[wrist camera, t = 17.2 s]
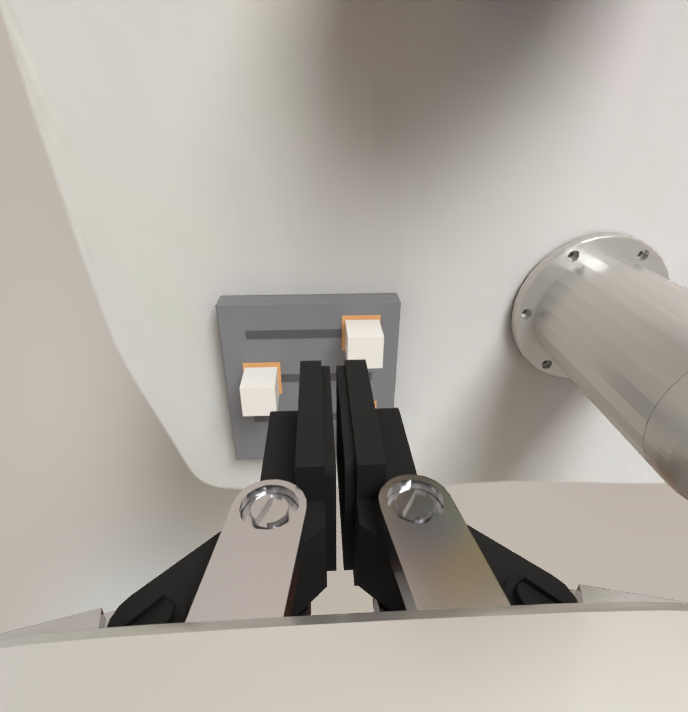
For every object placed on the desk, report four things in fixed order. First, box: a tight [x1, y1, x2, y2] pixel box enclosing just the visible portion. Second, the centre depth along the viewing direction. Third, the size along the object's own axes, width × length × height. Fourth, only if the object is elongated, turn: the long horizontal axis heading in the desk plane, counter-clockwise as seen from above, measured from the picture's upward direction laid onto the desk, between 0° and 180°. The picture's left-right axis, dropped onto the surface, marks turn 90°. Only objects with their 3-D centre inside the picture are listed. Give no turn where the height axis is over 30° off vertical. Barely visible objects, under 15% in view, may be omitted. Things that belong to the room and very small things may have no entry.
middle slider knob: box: [240, 367, 279, 416], centre depth 37 cm, size 3×3×3 cm
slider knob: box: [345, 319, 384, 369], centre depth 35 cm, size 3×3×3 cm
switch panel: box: [216, 293, 401, 460], centre depth 40 cm, size 14×15×2 cm
